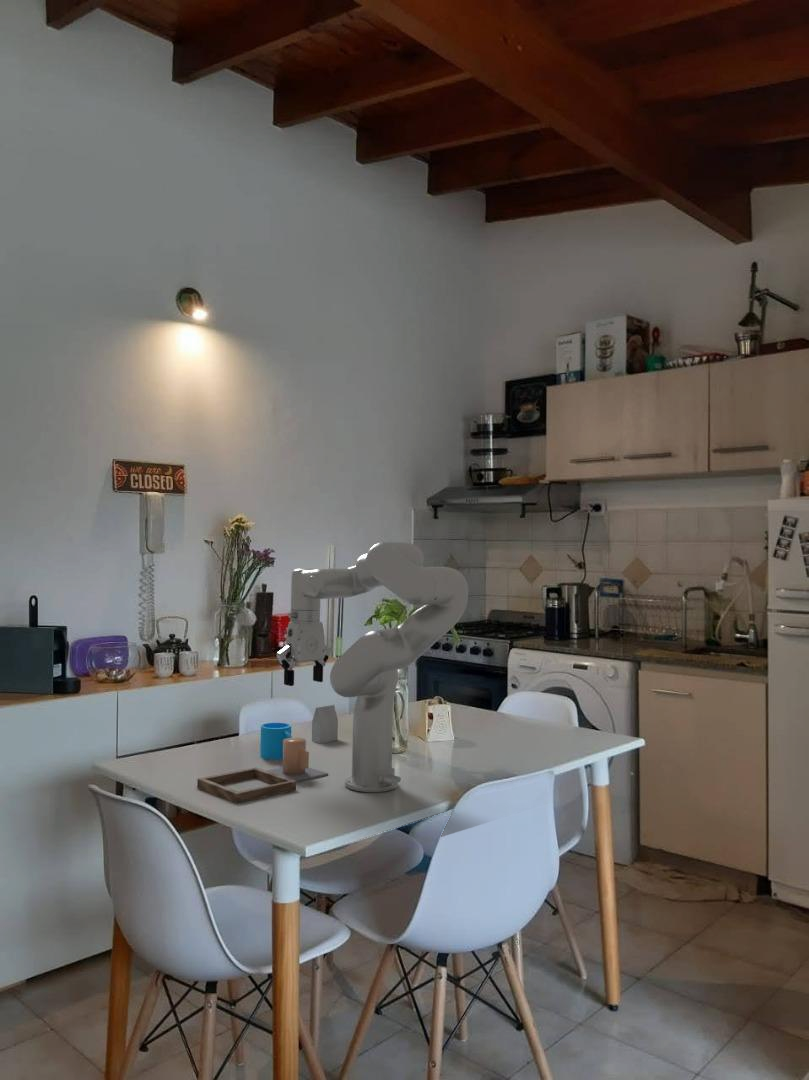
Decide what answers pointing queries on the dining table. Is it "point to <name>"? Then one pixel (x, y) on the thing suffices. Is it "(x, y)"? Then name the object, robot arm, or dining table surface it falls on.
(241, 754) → the dining table surface
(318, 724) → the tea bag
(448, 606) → the robot arm
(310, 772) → the mat
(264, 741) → the mug
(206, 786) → the wooden square frame
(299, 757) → the jug
